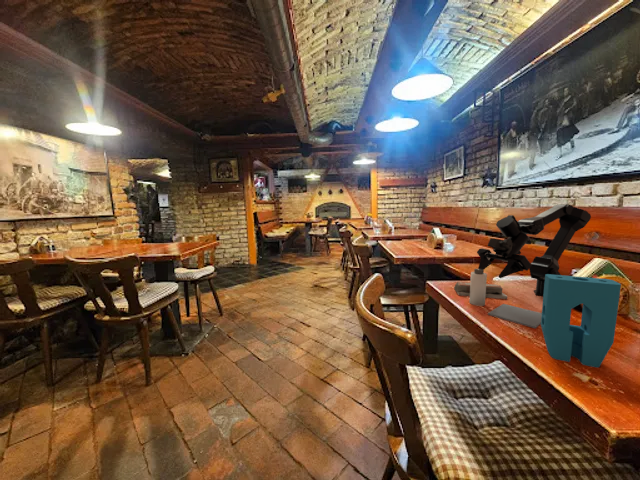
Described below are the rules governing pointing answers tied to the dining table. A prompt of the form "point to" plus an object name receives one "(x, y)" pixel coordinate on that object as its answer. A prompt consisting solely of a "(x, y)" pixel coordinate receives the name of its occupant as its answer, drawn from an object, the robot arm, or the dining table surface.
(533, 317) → the felt mat
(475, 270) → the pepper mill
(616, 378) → the dining table surface
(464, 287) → the packaged product
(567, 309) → the block
